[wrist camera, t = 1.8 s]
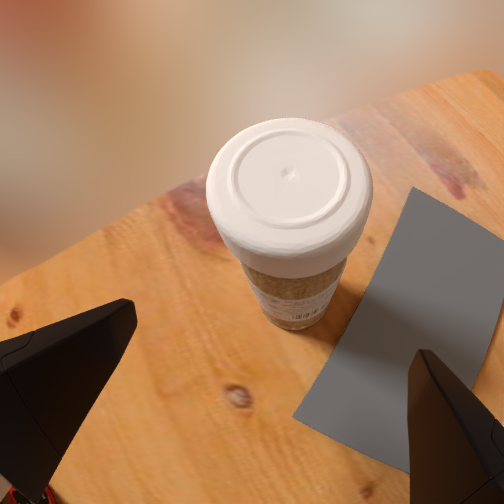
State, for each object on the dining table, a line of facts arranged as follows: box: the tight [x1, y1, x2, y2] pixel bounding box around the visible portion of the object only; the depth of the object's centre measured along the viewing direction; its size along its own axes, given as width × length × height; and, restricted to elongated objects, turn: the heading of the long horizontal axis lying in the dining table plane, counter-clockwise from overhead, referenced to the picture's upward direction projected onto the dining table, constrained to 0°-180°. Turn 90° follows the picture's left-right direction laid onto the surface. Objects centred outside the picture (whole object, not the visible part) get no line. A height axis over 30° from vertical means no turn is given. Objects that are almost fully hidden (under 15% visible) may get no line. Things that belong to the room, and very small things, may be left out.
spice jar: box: [206, 118, 373, 330], centre depth 14 cm, size 5×5×13 cm
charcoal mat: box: [292, 187, 504, 474], centre depth 18 cm, size 18×10×1 cm, turn 147°
